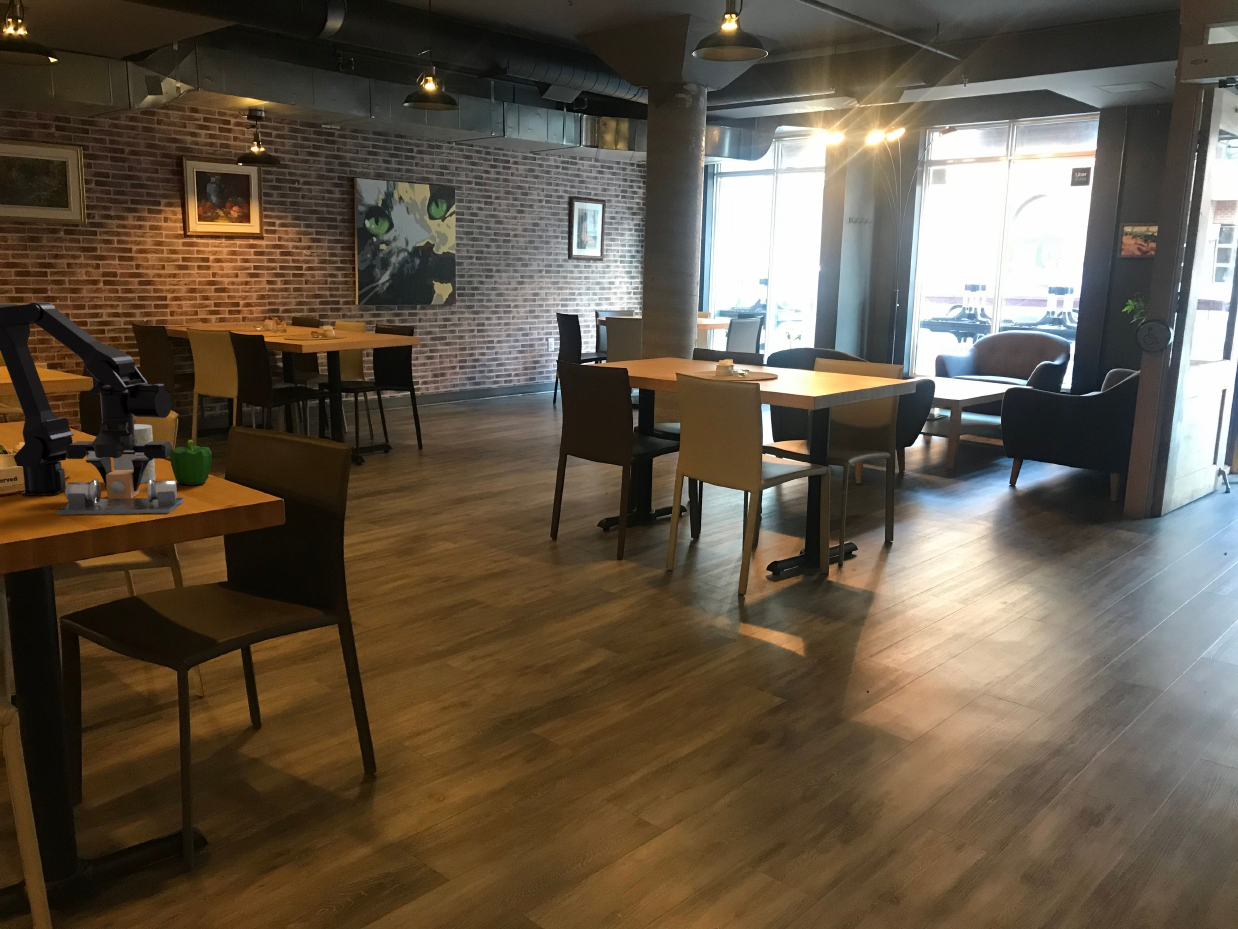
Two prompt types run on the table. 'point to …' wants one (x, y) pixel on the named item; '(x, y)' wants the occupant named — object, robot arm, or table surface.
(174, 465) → the bell pepper
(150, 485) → the shaft
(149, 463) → the cup
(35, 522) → the table surface
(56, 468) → the robot arm
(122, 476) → the coupler
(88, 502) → the bench
